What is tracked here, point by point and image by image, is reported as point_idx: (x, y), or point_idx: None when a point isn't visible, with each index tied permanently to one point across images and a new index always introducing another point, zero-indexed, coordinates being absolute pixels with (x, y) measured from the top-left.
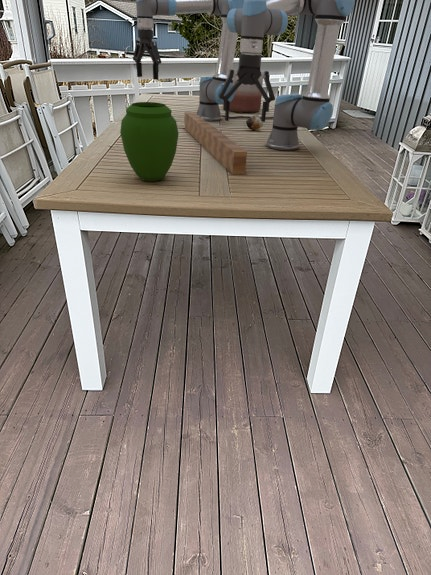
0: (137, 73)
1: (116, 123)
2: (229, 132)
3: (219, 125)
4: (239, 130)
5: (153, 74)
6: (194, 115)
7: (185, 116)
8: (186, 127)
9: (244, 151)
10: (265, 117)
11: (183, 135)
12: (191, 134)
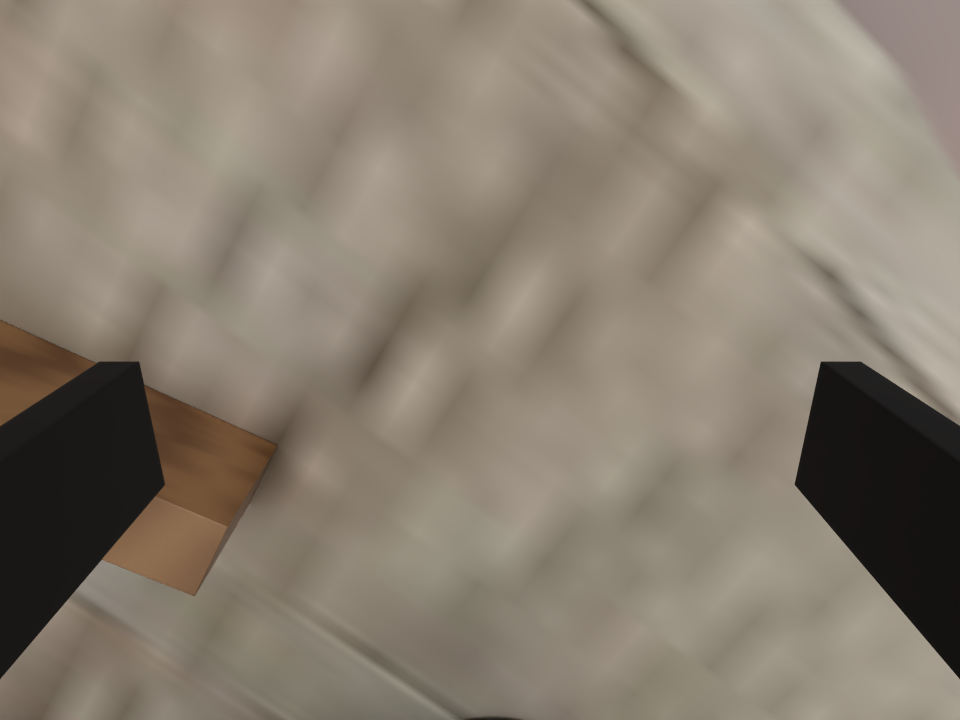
0: (886, 397)
1: (843, 36)
2: None
3: (263, 709)
4: (57, 706)
5: (37, 414)
6: None
7: (202, 489)
8: (197, 425)
9: None
10: None
11: (36, 266)
12: (13, 330)
